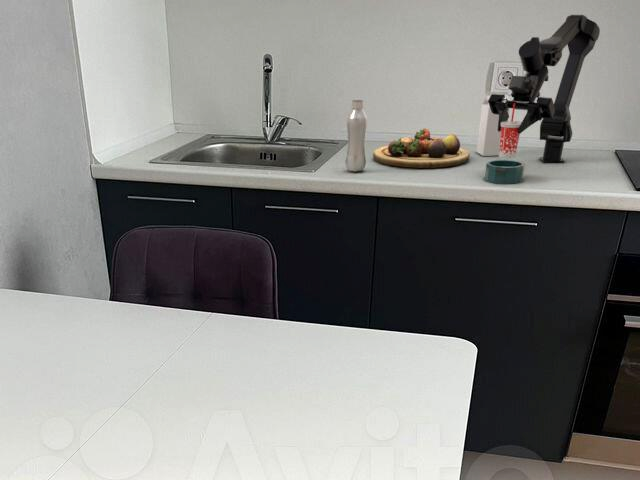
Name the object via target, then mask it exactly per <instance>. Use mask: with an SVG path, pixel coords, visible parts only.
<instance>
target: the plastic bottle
mask: <svg viewBox="0 0 640 480" xmlns="http://www.w3.org/2000/svg"><path fill="white" fill-rule="evenodd" d="M364 105H365V104H364V100H363V99H354V100H351V107H350V108H351V110H350V112H349V113H348V115H347V118H346V130H347V147H346V149H347V150H346V156H345V169H346V170H347V171H350V172H355V173H356V172H360V171H364V169H365V168H366V165H367V159H366V147H365V143H366V142H365V141H366V134H367V133H366V131H367V127H368V126H367V125H368V117H367V114H366V113H365V111H364V109H363V108H365V106H364Z"/></svg>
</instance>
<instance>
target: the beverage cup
mask: <svg viewBox="0 0 640 480" xmlns="http://www.w3.org/2000/svg"><path fill="white" fill-rule="evenodd" d="M515 110H516V109H515V103H514V104H513V108H512V111H511V120H508V121H504V122H501V137H500V150H499V155H498V157H499V158H503V159H513V158H516V156H517V150H518V144H519V140H520V136H521V135H520V134H521V133H520V134H518V129H519V127H520V125H521V123H522V121H518V120H514V116H515Z"/></svg>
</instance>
